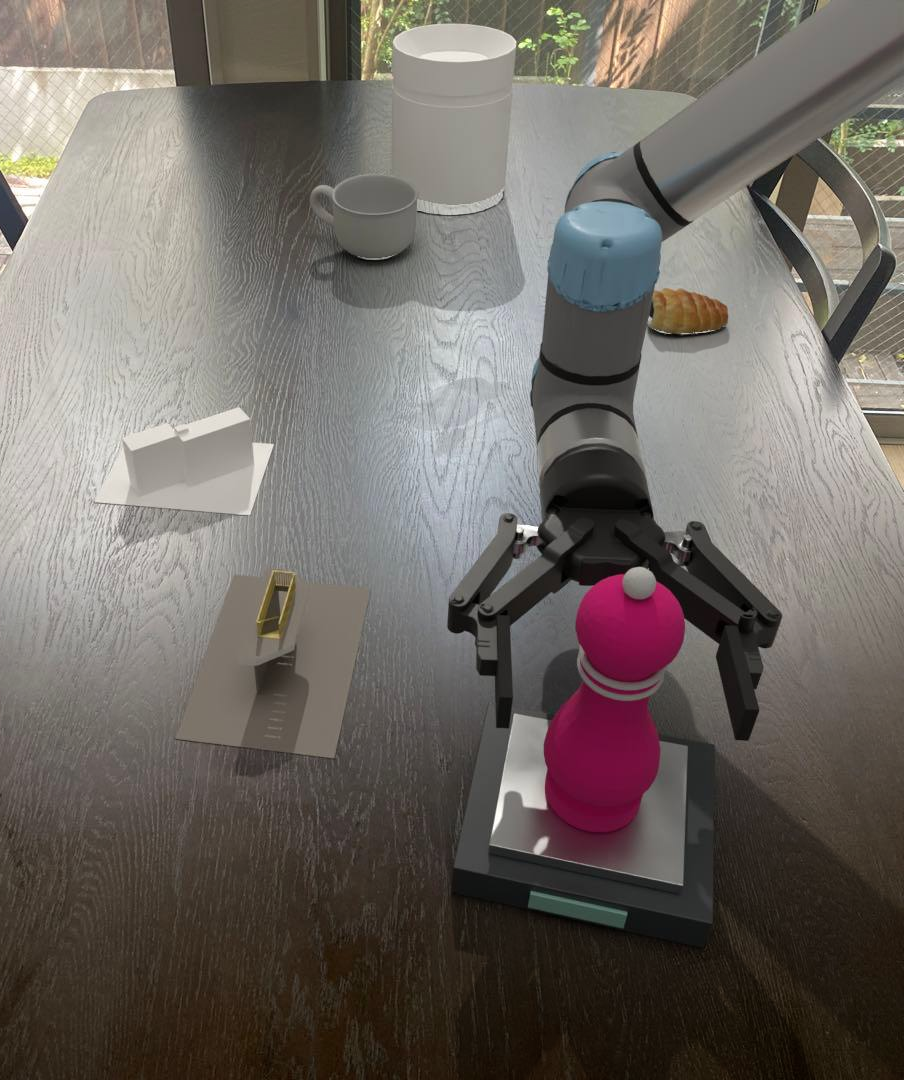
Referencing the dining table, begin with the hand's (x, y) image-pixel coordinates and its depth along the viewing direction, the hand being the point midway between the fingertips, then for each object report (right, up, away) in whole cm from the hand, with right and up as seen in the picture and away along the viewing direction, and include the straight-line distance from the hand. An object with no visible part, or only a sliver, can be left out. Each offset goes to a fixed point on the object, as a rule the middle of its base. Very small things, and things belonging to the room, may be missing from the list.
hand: (625, 719), depth 61 cm
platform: (-21, +1, +25) cm, 33 cm away
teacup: (-15, +48, +79) cm, 93 cm away
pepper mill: (0, -7, +10) cm, 12 cm away
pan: (0, -7, +11) cm, 13 cm away
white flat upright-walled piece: (-32, +17, +43) cm, 56 cm away
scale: (0, -10, +13) cm, 16 cm away
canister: (-3, +59, +92) cm, 109 cm away
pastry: (+22, +35, +64) cm, 76 cm away
